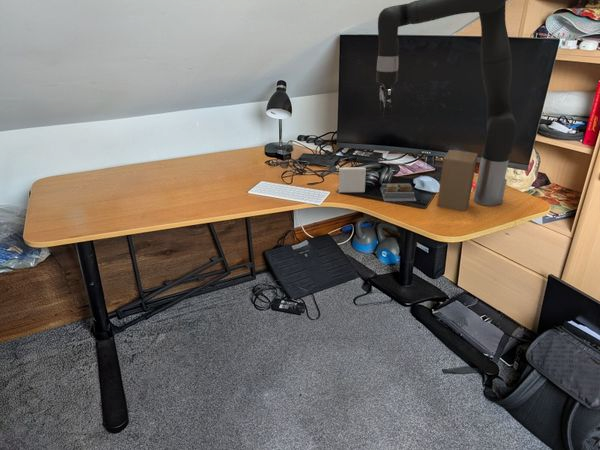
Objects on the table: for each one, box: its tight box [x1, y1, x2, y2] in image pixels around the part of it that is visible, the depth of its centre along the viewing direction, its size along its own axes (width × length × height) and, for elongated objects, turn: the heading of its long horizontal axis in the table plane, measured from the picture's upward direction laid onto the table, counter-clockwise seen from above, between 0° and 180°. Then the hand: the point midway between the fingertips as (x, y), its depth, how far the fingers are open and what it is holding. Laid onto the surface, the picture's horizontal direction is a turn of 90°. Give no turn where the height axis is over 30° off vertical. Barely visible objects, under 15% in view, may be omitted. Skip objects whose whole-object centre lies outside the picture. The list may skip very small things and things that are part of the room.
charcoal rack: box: [380, 183, 417, 202], centre depth 175 cm, size 12×12×4 cm
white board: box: [338, 166, 367, 193], centre depth 176 cm, size 10×2×11 cm, turn 88°
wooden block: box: [436, 149, 478, 212], centre depth 163 cm, size 10×10×20 cm
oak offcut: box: [386, 185, 398, 192], centre depth 173 cm, size 4×2×4 cm, turn 88°
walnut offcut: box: [399, 185, 413, 192], centre depth 173 cm, size 4×2×4 cm, turn 88°
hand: (384, 114), depth 170 cm, fingers open, 8 cm apart
